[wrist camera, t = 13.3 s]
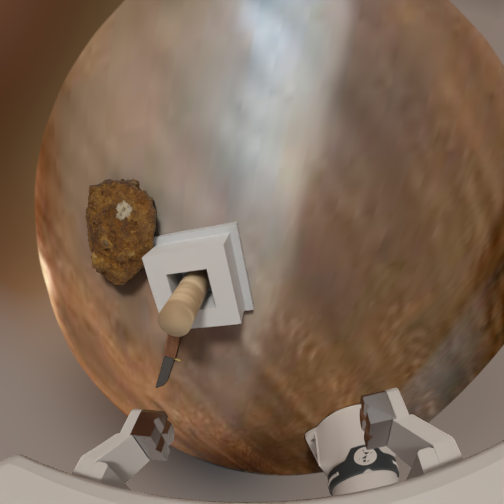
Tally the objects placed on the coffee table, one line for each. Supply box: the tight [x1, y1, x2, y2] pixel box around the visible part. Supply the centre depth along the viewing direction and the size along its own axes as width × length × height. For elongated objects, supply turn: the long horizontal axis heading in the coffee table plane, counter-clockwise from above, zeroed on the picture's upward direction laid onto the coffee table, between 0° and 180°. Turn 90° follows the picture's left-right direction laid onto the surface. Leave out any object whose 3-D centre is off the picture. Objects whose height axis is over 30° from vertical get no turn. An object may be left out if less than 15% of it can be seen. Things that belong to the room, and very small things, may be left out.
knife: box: [156, 334, 181, 388], centre depth 46 cm, size 17×1×3 cm
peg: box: [158, 269, 210, 337], centre depth 34 cm, size 3×3×12 cm
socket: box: [142, 222, 254, 329], centre depth 38 cm, size 12×12×6 cm
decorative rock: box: [86, 179, 157, 285], centre depth 39 cm, size 11×4×15 cm
